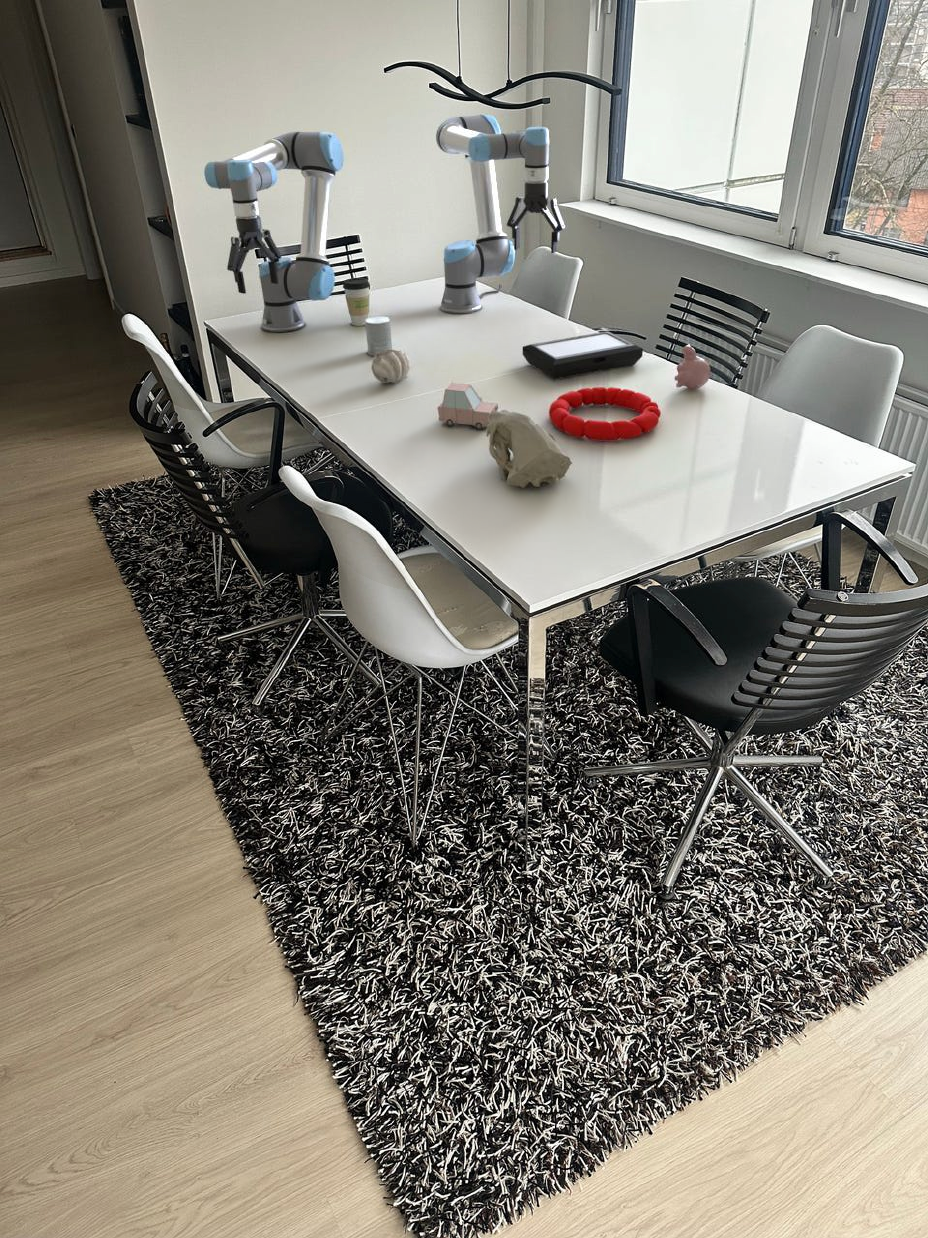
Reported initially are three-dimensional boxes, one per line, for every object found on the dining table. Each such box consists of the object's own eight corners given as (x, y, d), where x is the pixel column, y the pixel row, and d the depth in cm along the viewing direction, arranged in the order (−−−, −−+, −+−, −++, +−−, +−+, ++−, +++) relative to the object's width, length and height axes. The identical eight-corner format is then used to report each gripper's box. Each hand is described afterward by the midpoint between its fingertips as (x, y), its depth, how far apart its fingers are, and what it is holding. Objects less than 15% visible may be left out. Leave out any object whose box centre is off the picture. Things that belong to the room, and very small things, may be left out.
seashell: (364, 381, 275) (361, 349, 270) (407, 372, 281) (405, 341, 275) (377, 391, 268) (374, 358, 262) (421, 382, 273) (420, 349, 268)
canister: (364, 355, 296) (361, 322, 290) (372, 348, 303) (370, 315, 297) (387, 357, 295) (385, 323, 288) (395, 349, 301) (393, 316, 295)
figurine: (665, 387, 264) (669, 347, 257) (693, 380, 268) (698, 340, 261) (686, 396, 257) (690, 355, 250) (714, 388, 262) (720, 348, 255)
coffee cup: (372, 326, 323) (368, 283, 314) (345, 327, 323) (340, 284, 315) (374, 318, 331) (371, 276, 322) (348, 319, 331) (344, 277, 323)
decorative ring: (589, 435, 224) (684, 402, 234) (527, 398, 247) (617, 369, 256) (589, 461, 229) (683, 427, 238) (529, 422, 251) (617, 393, 260)
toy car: (488, 432, 240) (488, 396, 234) (436, 426, 244) (434, 390, 239) (499, 419, 247) (499, 384, 241) (448, 413, 252) (447, 379, 246)
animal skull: (496, 517, 219) (521, 479, 201) (463, 429, 225) (484, 384, 207) (557, 503, 225) (586, 465, 206) (523, 417, 231) (549, 373, 212)
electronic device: (553, 362, 266) (522, 343, 282) (552, 382, 270) (522, 363, 285) (643, 345, 277) (609, 328, 292) (641, 365, 280) (607, 347, 295)
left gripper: (223, 225, 263) (236, 298, 275) (286, 210, 279) (295, 280, 291) (207, 222, 267) (220, 295, 279) (270, 208, 283) (280, 277, 295)
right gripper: (496, 181, 291) (497, 249, 303) (567, 185, 281) (565, 255, 293) (506, 177, 297) (506, 245, 309) (576, 181, 287) (573, 251, 299)
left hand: (258, 287), depth 285 cm, fingers open, 13 cm apart
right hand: (535, 250), depth 301 cm, fingers open, 13 cm apart
